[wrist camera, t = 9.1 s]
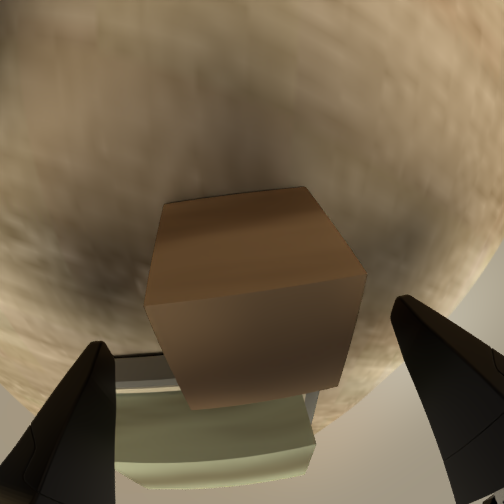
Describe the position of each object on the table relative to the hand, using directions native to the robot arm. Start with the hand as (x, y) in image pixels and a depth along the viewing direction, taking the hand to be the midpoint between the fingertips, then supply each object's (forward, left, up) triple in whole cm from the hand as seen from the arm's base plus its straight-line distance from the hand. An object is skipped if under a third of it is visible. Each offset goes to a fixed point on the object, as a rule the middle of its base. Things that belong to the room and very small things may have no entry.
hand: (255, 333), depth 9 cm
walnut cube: (0, 0, -4) cm, 4 cm away
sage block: (+10, -3, -2) cm, 11 cm away
